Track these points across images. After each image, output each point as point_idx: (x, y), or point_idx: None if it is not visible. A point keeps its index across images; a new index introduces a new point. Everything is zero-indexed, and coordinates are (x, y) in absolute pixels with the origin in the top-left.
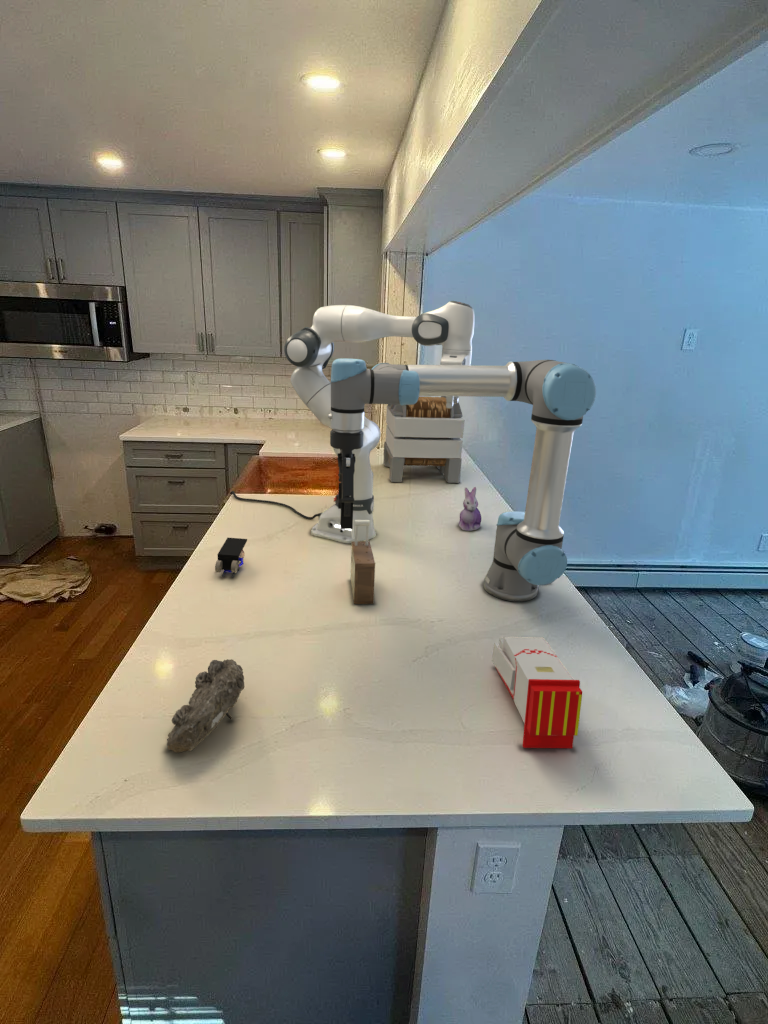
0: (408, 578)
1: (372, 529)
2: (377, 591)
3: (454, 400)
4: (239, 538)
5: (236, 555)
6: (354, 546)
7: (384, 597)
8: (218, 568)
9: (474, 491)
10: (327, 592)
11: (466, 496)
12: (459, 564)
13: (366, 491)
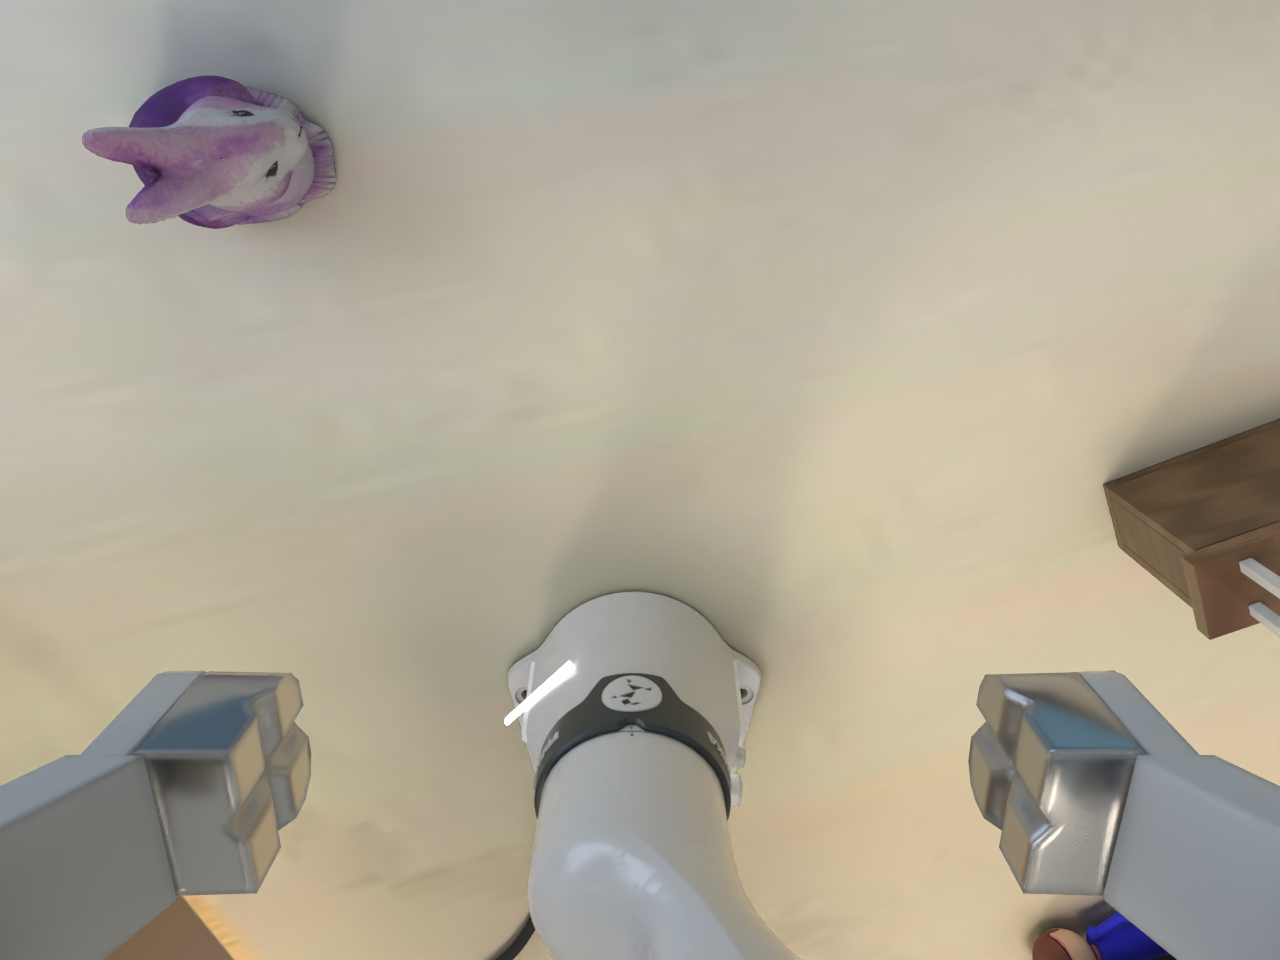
0: (1047, 331)
1: (645, 619)
2: (1197, 422)
3: (263, 785)
4: None
5: None
6: (1271, 609)
7: (1247, 381)
8: None
9: (149, 137)
10: None
11: (218, 192)
12: (823, 119)
13: (690, 778)
